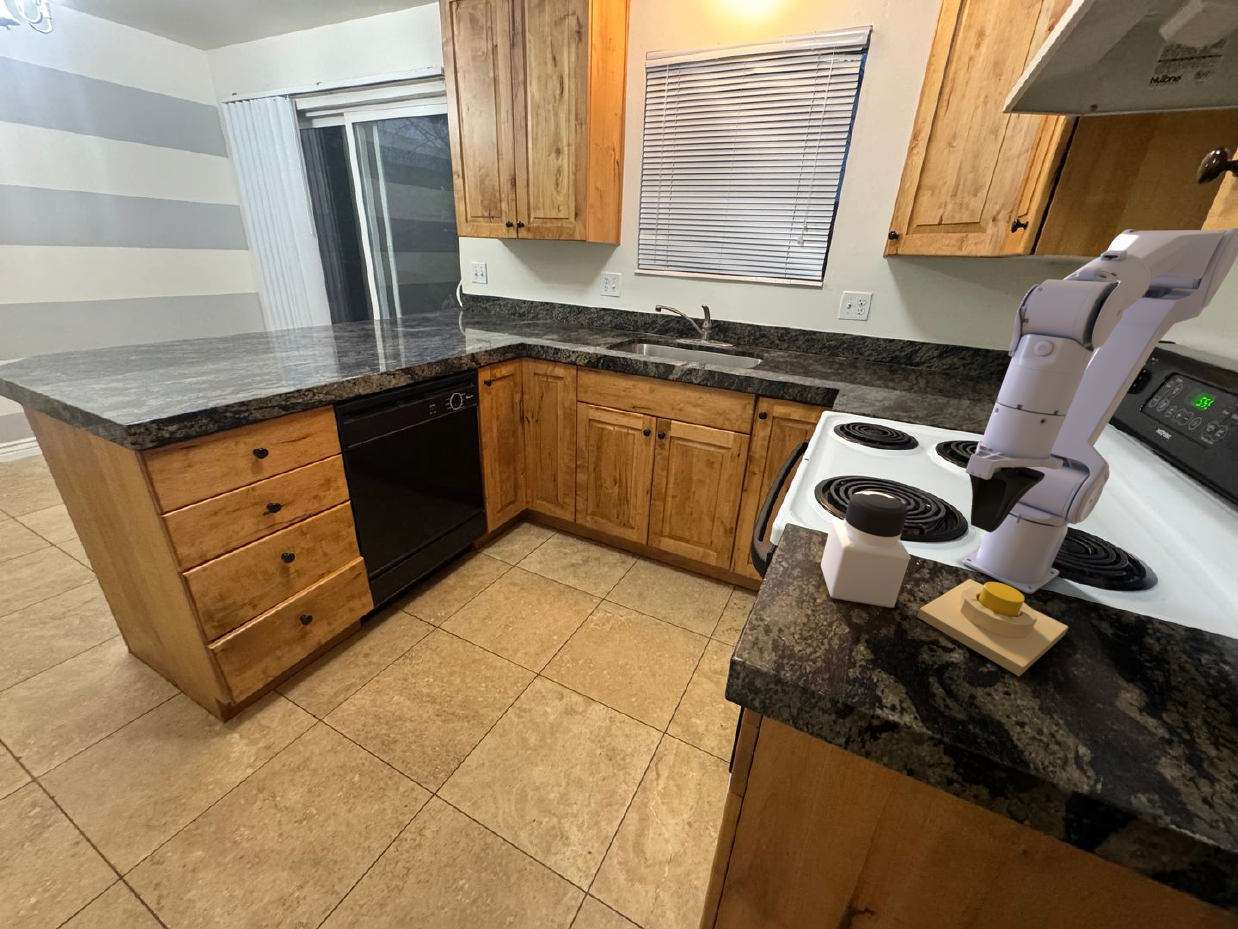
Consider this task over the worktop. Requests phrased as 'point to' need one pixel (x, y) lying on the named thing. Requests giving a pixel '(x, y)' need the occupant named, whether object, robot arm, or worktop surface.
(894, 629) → the worktop surface
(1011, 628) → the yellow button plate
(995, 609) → the button
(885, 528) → the medicine bottle
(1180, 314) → the robot arm
